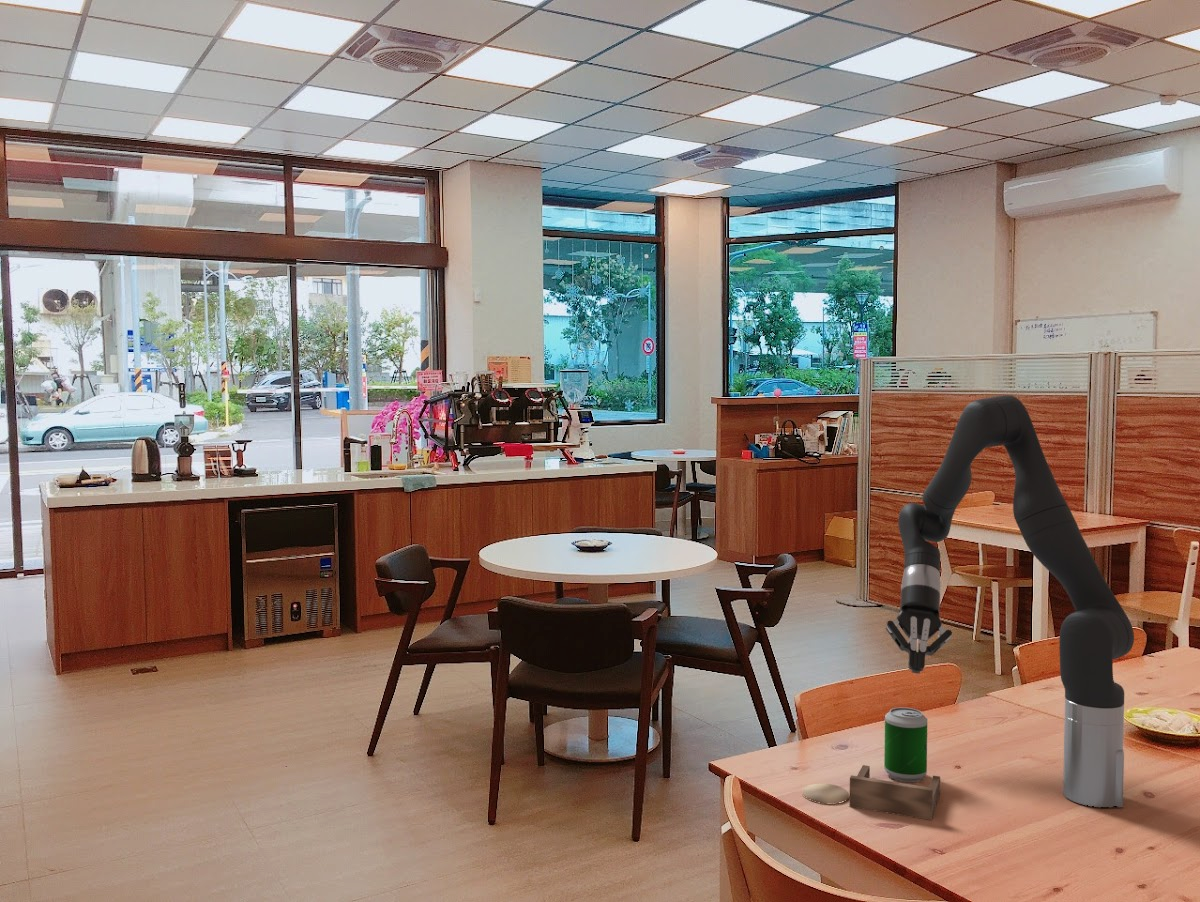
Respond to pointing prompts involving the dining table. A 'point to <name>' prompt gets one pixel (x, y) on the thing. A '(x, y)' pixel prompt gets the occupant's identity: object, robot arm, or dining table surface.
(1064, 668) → the robot arm
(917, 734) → the soda can
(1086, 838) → the dining table surface
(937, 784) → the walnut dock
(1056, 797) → the dining table surface
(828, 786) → the beige domed disc
